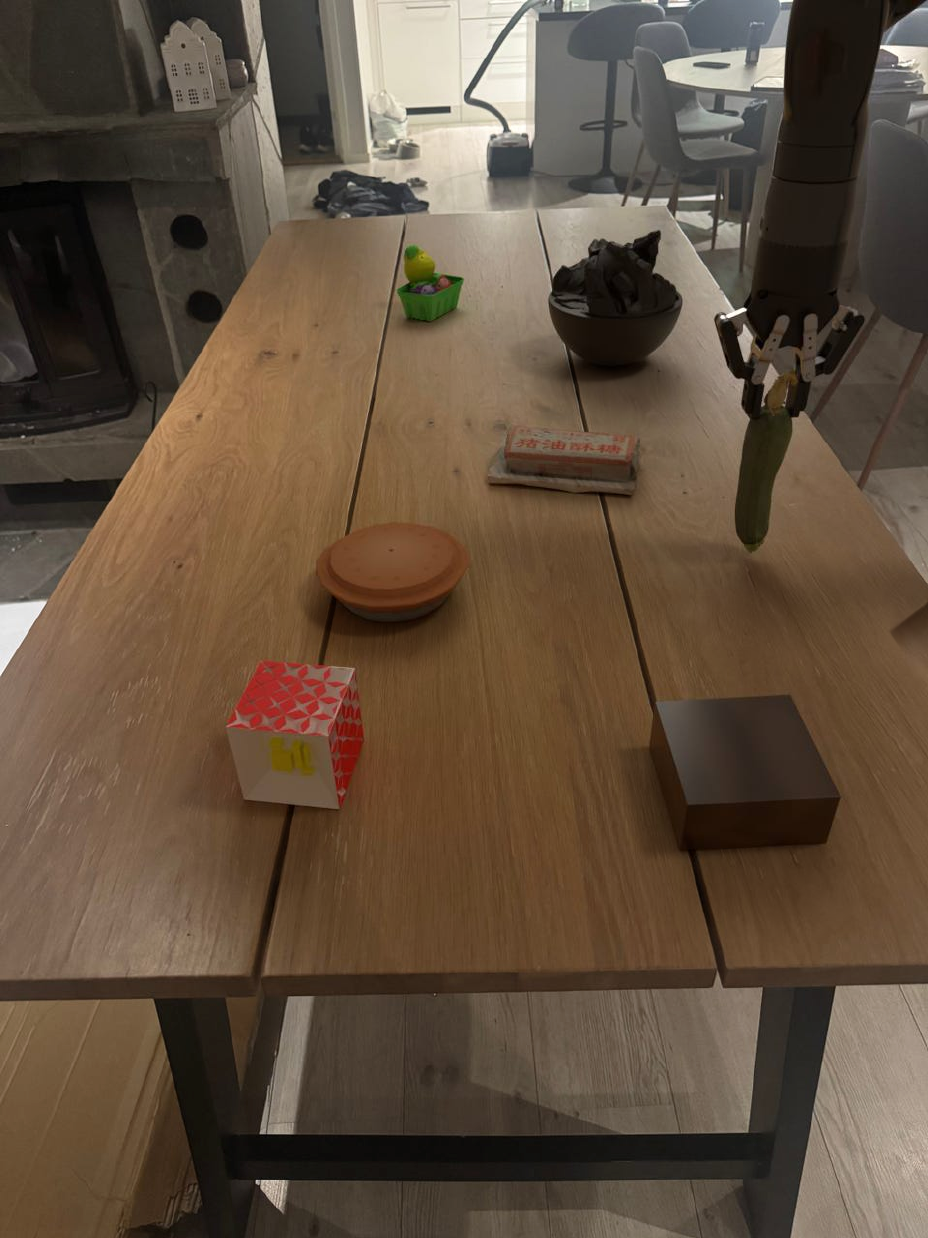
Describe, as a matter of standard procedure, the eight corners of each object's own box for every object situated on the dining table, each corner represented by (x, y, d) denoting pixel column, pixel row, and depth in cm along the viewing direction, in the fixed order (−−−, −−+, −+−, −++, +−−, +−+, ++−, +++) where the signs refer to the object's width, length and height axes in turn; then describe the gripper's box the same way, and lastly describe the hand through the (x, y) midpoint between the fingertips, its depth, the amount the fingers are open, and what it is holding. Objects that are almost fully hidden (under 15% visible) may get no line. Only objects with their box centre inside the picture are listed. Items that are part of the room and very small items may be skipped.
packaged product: (644, 425, 115) (637, 462, 108) (641, 460, 118) (633, 498, 110) (502, 414, 119) (486, 449, 111) (502, 449, 122) (486, 485, 114)
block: (779, 739, 77) (790, 694, 74) (826, 843, 69) (841, 796, 66) (648, 746, 77) (654, 701, 74) (679, 851, 68) (687, 805, 65)
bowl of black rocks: (554, 389, 137) (558, 257, 126) (540, 340, 153) (543, 220, 142) (688, 383, 137) (704, 252, 126) (661, 336, 153) (673, 215, 142)
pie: (500, 588, 96) (500, 548, 93) (386, 657, 88) (382, 614, 85) (402, 535, 105) (399, 496, 102) (290, 592, 97) (283, 552, 94)
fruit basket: (432, 325, 160) (429, 258, 154) (390, 317, 164) (385, 251, 158) (466, 306, 168) (465, 241, 161) (426, 299, 172) (422, 235, 165)
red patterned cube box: (243, 799, 74) (225, 727, 69) (275, 731, 80) (260, 660, 75) (340, 809, 73) (329, 736, 68) (365, 739, 79) (355, 668, 74)
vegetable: (719, 545, 100) (746, 367, 88) (744, 531, 102) (773, 355, 90) (753, 562, 97) (786, 380, 86) (778, 547, 100) (813, 368, 88)
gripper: (735, 246, 77) (710, 435, 88) (902, 238, 78) (857, 428, 88) (712, 223, 83) (691, 403, 94) (867, 216, 84) (829, 396, 94)
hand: (772, 414), depth 91 cm, fingers closed on vegetable, 3 cm apart
